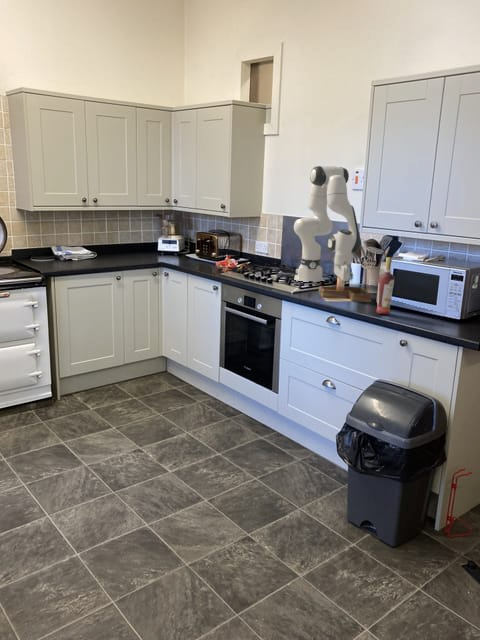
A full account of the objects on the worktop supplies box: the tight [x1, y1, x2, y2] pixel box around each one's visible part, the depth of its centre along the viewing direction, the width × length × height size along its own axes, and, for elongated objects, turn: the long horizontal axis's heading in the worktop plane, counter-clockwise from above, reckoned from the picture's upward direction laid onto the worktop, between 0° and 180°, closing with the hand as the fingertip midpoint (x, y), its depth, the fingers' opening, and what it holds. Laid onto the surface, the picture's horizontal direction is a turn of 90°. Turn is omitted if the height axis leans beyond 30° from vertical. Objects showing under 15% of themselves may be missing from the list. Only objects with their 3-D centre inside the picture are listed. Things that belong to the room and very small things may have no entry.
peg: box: [336, 278, 346, 290], centre depth 293 cm, size 4×4×8 cm
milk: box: [375, 261, 386, 304], centre depth 283 cm, size 6×6×22 cm
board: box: [321, 296, 373, 303], centre depth 292 cm, size 17×25×1 cm
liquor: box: [375, 256, 396, 315], centre depth 261 cm, size 7×7×28 cm
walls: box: [318, 285, 372, 303], centre depth 291 cm, size 17×24×4 cm
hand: (340, 285), depth 293 cm, fingers closed on peg, 4 cm apart
